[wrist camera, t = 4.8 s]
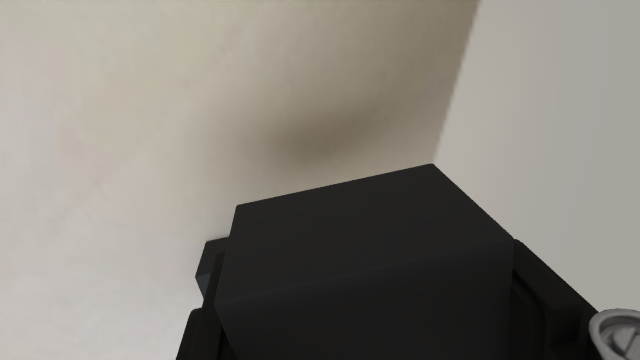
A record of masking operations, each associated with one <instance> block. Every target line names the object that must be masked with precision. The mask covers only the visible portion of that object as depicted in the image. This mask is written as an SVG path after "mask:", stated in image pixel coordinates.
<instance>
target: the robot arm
mask: <svg viewBox="0 0 640 360" xmlns="http://www.w3.org/2000/svg"><path fill="white" fill-rule="evenodd" d="M513 240H514V243H513V271H512V286H511V287H510V317H509V347H508V360H640V312H639V311H636V310H630V309H609V310H604V311H602V312H598V311H597V310H596V309H595V308H594V307H593V306H592V305H590V304H589V303H588V302H587V301H586V300H585V299H584V298H583V297H582V296H581V295H579V294H578V293H577V292H576V291H575V290H574V289H573V288H572V287H571V286H569V285H568V284H567V283H566V282H565V281H564V280H563V279H562V278H561V277H559V276H558V275H557V274H556V273H555V272H554V271H553V270H552V269H551V268H550V267H549V266H547V265H546V264H545V263H544V262H543V261H542V260H541V259H540V258H539V257H537V256H536V255H535V254H534V253H533V252H532V251H531V250H530V249H529V248H527V247H526V246H525V245H524V244H523V243H522V242H520V241H519V240H517V239H513ZM225 253H226V250H225V251H221V252H217V254H216V257H215V261H214V264H213V268H212V272H211V275H210V279H209V283H208V286H207V290H206V294H205V297H204V301H203V305H202V308H197V309H194V310H193V311H191V313H190V315H189V318H188V321H187V325H186V328H185V331H184V334H183V338H182V341H181V344H180V347H179V351H178V354H177V357H176V360H237V359H236V356H235V354H234V351H233V348H231V346H230V344H229V341H228V339H227V336H226V334H225V331H224V329H223V326H222V324H221V321H220V319H219V316H218V314H217V311H216V309H215V306H214V300H215V296H216V292H217V287H218V283H219V279H220V274H221V270H222V266H223V262H224V257H225Z"/></svg>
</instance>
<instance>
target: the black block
mask: <svg viewBox="0 0 640 360" xmlns="http://www.w3.org/2000/svg"><path fill="white" fill-rule="evenodd" d="M513 243H514V240H513V237H512V236H511V235H510V234H509V233H508V232H506V230H504V229H503V228H502V227H501V226H500V225H499V224H498V223H497V222H496V221H495V220H493V218H491V217H490V216H489V215H488V214H487V213H486V212H485V211H484V210H483V209H482V208H481V207H479V206H478V205H477V204H476V203H475V202H474V201H473V200H472V199H471V198H470V197H469V196H467V195H466V194H465V193H464V192H463V191H462V190H461V189H460V188H459V187H458V186H457V185H455V184H454V183H453V182H452V181H451V180H450V179H449V178H448V177H447V176H446V175H445V174H443V173H442V172H441V171H440V170H439V169H438V168H437V167H436V166H435V165H434V164H426V165H422V166H417V167H412V168H408V169H403V170H399V171H394V172H389V173H385V174H380V175H375V176H371V177H366V178H361V179H357V180H352V181H347V182H343V183H338V184H333V185H329V186H324V187H320V188H315V189H310V190H306V191H301V192H296V193H292V194H287V195H282V196H278V197H273V198H268V199H264V200H259V201H254V202H250V203H245V204H241V205H237V206H236V210H235V214H234V219H233V223H232V227H231V232H230V236H229V240H228V244H227V249H226V253H225V257H224V262H223V266H222V270H221V274H220V279H219V283H218V287H217V292H216V296H215V300H214V306H215V309H216V311H217V314H218V316H219V319H220V321H221V324H222V326H223V329H224V331H225V334H226V336H227V339H228V341H229V344H230V346H231V348H233V351H234V354H235V356H236V359H237V360H508V347H509V317H510V287H511V286H512V271H513Z"/></svg>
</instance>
